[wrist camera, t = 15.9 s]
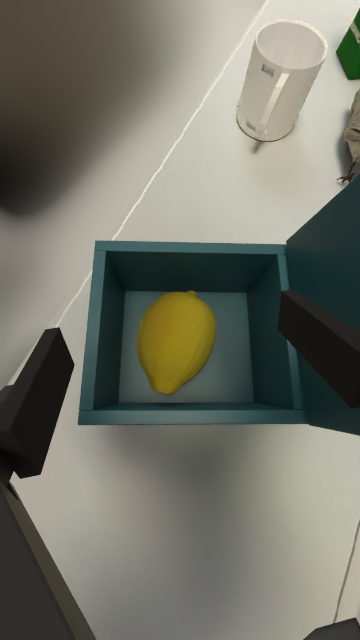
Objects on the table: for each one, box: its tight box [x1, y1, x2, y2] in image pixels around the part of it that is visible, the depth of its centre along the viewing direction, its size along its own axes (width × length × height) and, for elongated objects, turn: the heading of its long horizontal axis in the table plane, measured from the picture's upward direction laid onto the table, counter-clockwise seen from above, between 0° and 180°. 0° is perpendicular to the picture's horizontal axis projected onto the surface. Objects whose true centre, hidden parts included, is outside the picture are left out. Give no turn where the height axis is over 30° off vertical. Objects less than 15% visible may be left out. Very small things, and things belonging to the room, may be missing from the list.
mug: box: [237, 19, 328, 141], centre depth 35 cm, size 12×9×9 cm
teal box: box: [78, 241, 308, 425], centre depth 25 cm, size 17×15×10 cm
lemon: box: [136, 291, 216, 395], centre depth 26 cm, size 11×8×8 cm
